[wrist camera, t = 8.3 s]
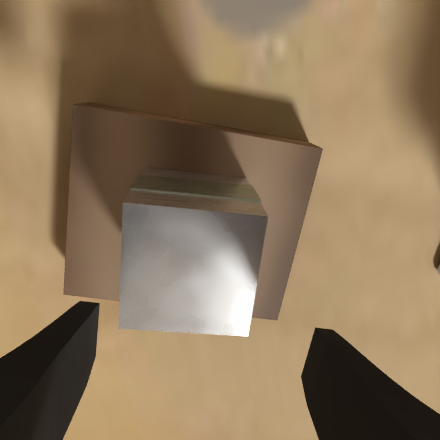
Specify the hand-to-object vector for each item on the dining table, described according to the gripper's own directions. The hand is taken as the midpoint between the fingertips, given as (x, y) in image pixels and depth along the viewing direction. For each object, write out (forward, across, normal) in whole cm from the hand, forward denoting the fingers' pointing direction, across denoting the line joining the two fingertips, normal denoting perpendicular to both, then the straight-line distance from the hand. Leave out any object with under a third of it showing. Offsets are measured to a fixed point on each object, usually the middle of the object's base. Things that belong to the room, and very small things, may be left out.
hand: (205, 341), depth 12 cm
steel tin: (+8, +1, -1) cm, 8 cm away
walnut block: (+11, +1, -1) cm, 11 cm away
